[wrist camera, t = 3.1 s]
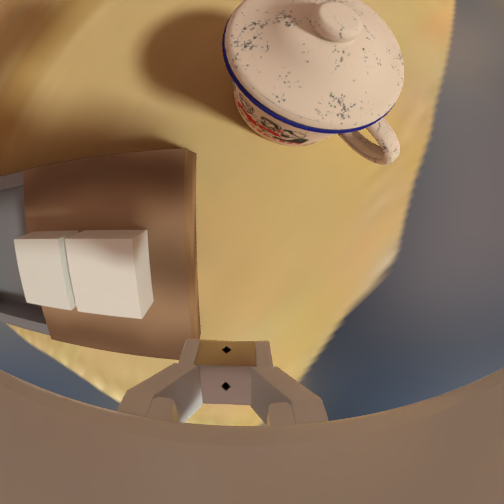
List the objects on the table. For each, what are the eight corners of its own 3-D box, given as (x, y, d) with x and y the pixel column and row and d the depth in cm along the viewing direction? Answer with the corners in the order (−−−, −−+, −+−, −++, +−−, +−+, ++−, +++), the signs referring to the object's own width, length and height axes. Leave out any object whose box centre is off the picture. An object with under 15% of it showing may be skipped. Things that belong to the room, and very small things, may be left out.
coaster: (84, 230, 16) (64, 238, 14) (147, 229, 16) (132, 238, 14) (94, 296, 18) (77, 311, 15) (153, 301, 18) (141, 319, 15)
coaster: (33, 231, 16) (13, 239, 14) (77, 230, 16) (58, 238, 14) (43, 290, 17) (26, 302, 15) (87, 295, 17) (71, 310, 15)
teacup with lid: (205, 94, 18) (165, 14, 6) (287, 28, 16) (320, -65, 5) (318, 202, 20) (399, 235, 9) (390, 129, 19) (494, 109, 7)
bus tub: (-17, 184, 18) (-37, 188, 15) (51, 168, 18) (27, 169, 15) (2, 304, 22) (-14, 316, 19) (71, 319, 22) (54, 336, 19)
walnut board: (51, 168, 18) (23, 170, 15) (196, 153, 19) (184, 148, 15) (71, 319, 22) (51, 339, 19) (200, 333, 23) (193, 361, 19)
